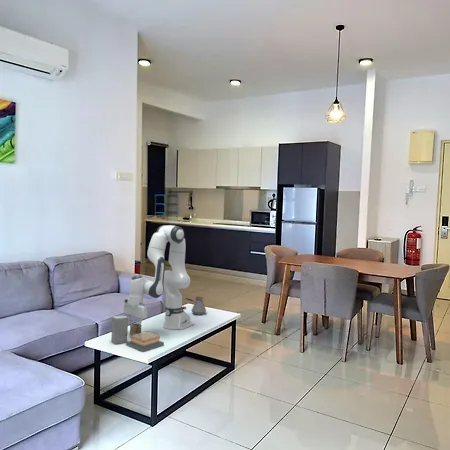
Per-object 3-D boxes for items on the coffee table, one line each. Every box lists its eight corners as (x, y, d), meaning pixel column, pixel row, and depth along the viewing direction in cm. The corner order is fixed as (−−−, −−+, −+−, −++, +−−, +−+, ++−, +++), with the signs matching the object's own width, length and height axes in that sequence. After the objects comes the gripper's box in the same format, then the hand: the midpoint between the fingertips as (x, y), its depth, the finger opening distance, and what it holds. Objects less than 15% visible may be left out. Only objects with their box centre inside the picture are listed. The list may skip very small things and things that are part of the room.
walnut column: (136, 334, 272) (136, 322, 271) (141, 336, 268) (141, 324, 268) (129, 336, 268) (130, 324, 267) (134, 338, 264) (135, 326, 264)
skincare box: (115, 344, 252) (115, 319, 251) (110, 341, 258) (111, 316, 257) (128, 342, 257) (128, 317, 256) (123, 339, 263) (124, 314, 262)
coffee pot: (198, 311, 335) (198, 292, 334) (209, 313, 328) (209, 295, 327) (179, 316, 319) (179, 296, 318) (190, 319, 311) (190, 299, 311)
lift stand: (147, 339, 264) (147, 329, 263) (163, 345, 253) (164, 335, 253) (126, 345, 252) (126, 335, 251) (142, 352, 241) (143, 342, 241)
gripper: (150, 303, 262) (149, 325, 263) (130, 297, 275) (129, 318, 276) (142, 305, 257) (141, 327, 258) (122, 299, 271) (121, 320, 271)
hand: (134, 322), depth 267 cm, fingers open, 8 cm apart
